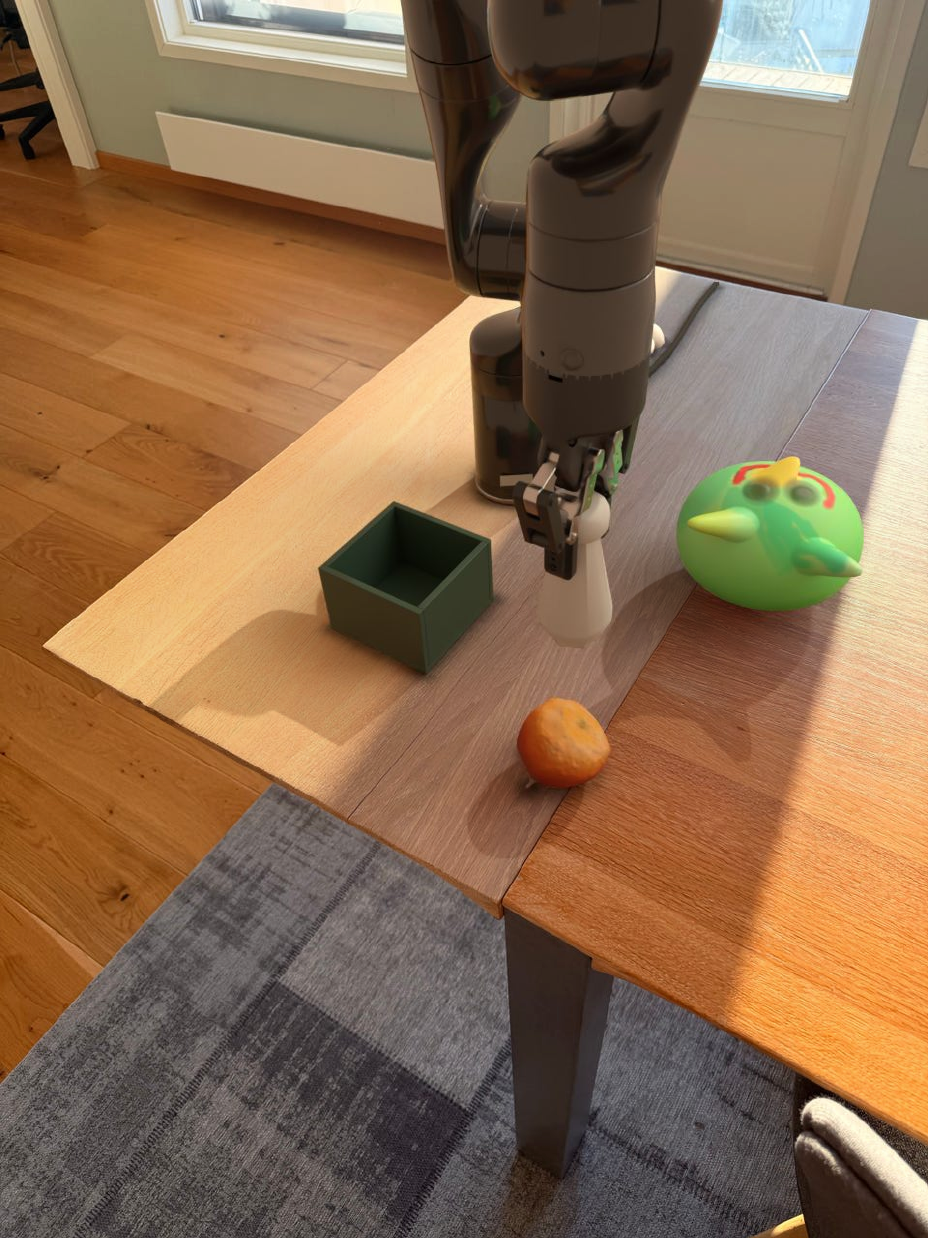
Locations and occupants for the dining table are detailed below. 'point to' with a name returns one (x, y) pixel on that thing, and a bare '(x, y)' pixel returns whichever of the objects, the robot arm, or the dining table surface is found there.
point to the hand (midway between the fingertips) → (576, 552)
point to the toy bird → (770, 535)
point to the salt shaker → (580, 585)
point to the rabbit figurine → (657, 338)
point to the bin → (408, 585)
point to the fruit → (562, 744)
